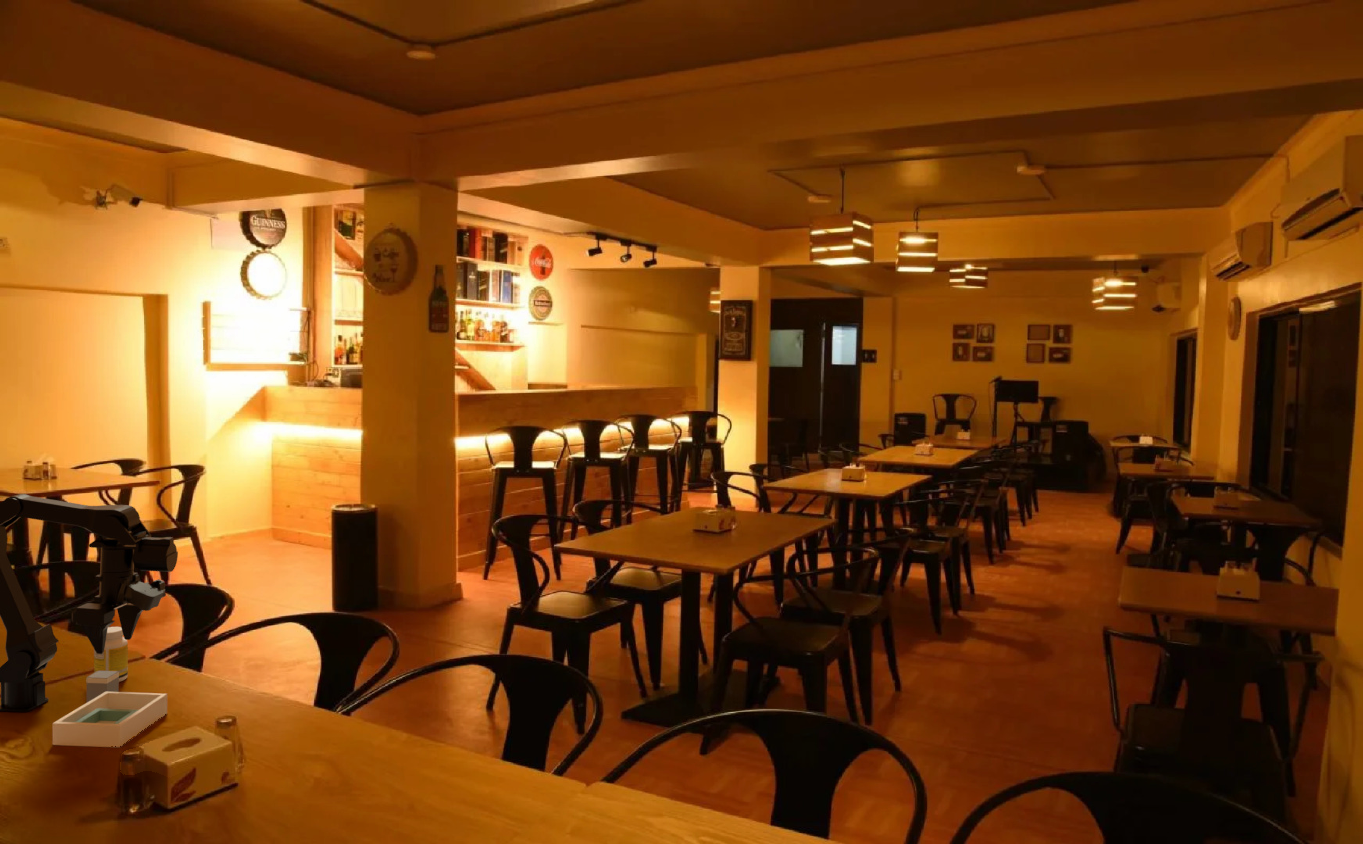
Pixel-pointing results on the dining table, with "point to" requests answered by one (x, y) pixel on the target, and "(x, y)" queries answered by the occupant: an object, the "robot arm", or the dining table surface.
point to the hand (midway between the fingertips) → (114, 646)
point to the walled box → (109, 719)
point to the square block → (102, 683)
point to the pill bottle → (113, 654)
